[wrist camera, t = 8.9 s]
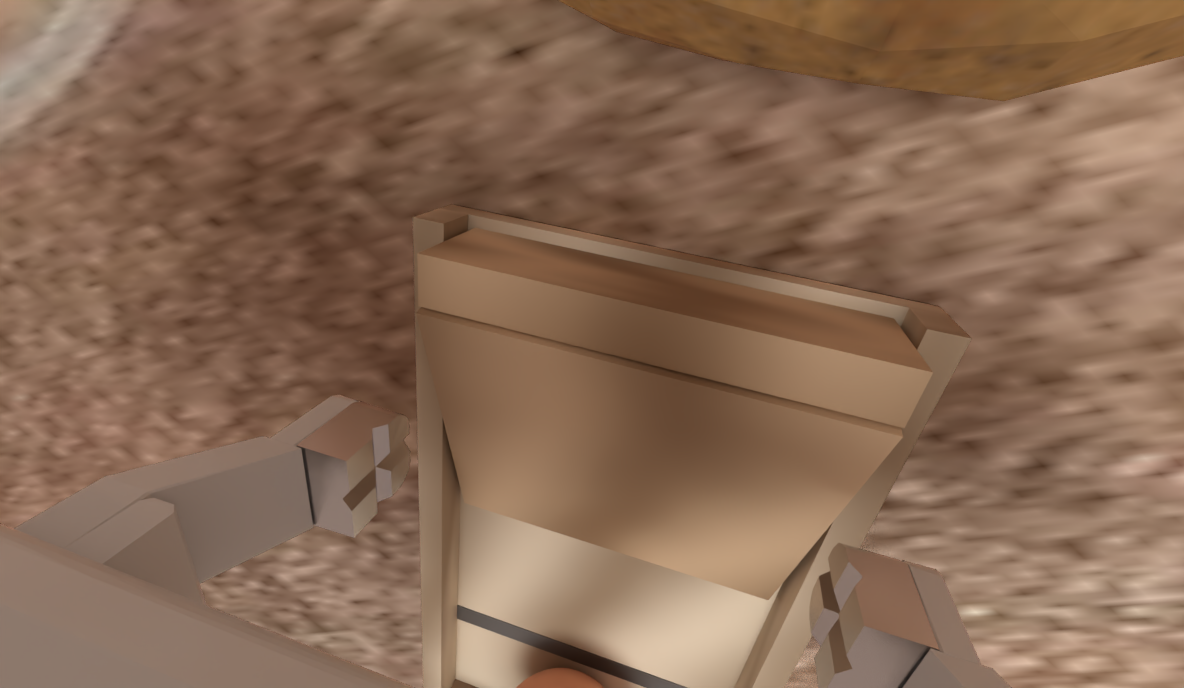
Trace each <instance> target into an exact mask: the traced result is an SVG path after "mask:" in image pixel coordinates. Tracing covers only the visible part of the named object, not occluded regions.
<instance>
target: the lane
mask: <svg viewBox="0 0 1184 688" xmlns="http://www.w3.org/2000/svg"><path fill="white" fill-rule="evenodd" d="M413 261H414V306H415V350H416V395H417V440H418V485H419V529H420V574H421V619H422V664H423V688H516V687H517V686H518V685H519V684H521V683H522V682H523V681H524V680H525V679H527V678H529V677H530V676H532V675H534V674H535V673H538V672H541V671H543V670H546V669H551V668H570V669H574V670H578V671H580V672H583V673H585V674H587V675H589V676H591V677H592V678H594V679H595V680H596V681H598V682H599V683H600V684H601V685H602V686H603V687H604V688H784V687H785V685H786V683H787V681H788V680H789V678H790V676H791V674H792V672H793V670H794V668H795V667H796V665H797V663H798V661H799V659H800V657H801V655H802V654H803V652H804V650H805V648H806V646H807V644H808V642H809V641H810V639H811V637H812V634H811V629H810V621H809V605H810V600H811V595H812V590H813V588H814V586H815V583H816V581H817V579H818V577H819V576H820V575H822V574H824V573H827V572H829V571H830V567H829V562H828V557H829V555H830V553H831V551H832V549H833V548H834V547H835V546H836V545H837V544H838V543H842V544H846V545H849V546H853V547H856V548H860V546H861V544H862V542H863V540H864V538H865V537H866V535H867V533H868V531H869V529H870V527H871V525H872V524H873V522H874V520H875V518H876V516H877V514H878V512H879V511H880V509H881V507H882V505H883V503H884V501H885V499H886V498H887V496H888V494H889V492H890V490H891V488H892V486H893V485H894V483H895V481H896V479H897V477H898V475H899V473H900V472H901V470H902V468H903V466H904V464H905V462H906V460H907V459H908V457H909V455H910V453H911V451H912V449H913V447H914V446H915V444H916V442H917V440H918V438H919V436H920V434H921V433H922V431H923V429H924V427H925V425H926V423H927V421H928V419H929V418H930V416H931V414H932V412H933V410H934V408H935V406H936V405H937V403H938V401H939V399H940V397H941V395H942V393H943V392H944V390H945V388H946V386H947V384H948V382H949V380H950V379H951V377H952V375H953V373H954V371H955V369H956V367H957V366H958V364H959V362H960V360H961V358H962V356H963V354H964V353H965V351H966V349H967V347H968V345H969V343H970V341H971V340H972V338H971V337H970V336H969V335H968V334H967V333H966V332H965V331H964V330H963V329H962V328H961V327H960V326H959V325H958V324H957V323H956V322H955V321H954V320H953V319H952V318H951V317H950V316H949V315H948V314H947V313H946V312H945V311H944V310H943V309H942V308H941V307H939V306H934V305H930V304H925V303H920V302H915V301H910V300H906V299H901V298H896V297H891V296H887V295H882V294H877V293H872V292H868V291H863V290H858V289H853V288H848V287H844V286H839V285H834V284H829V283H825V282H820V281H815V280H810V279H806V278H801V277H796V276H791V275H786V274H782V273H777V272H772V271H767V270H763V269H758V268H753V267H748V266H744V265H739V264H734V263H729V262H724V261H720V260H715V259H710V258H705V257H701V256H696V255H691V254H686V253H681V252H677V251H672V250H667V249H662V248H658V247H653V246H648V245H643V244H639V243H634V242H629V241H624V240H619V239H615V238H610V237H605V236H600V235H596V234H591V233H586V232H581V231H577V230H572V229H567V228H562V227H557V226H553V225H548V224H543V223H538V222H534V221H529V220H524V219H519V218H515V217H510V216H505V215H500V214H495V213H491V212H486V211H481V210H476V209H472V208H467V207H462V206H457V205H453V204H451V205H448V206H445V207H442V208H439V209H435V210H432V211H429V212H426V213H423V214H420V215H417V216H414V217H413Z"/></svg>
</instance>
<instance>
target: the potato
mask: <svg viewBox="0 0 1184 688" xmlns="http://www.w3.org/2000/svg"><path fill="white" fill-rule="evenodd" d="M558 1H560V2H562V3H564V4H566V5H568V6H570V7H572V8H574V9H576V10H578V11H579V12H581V13H583V14H585V15H587V16H589V17H591V18H593V19H595V20H596V21H598V22H600V23H602V24H604V25H605V26H607V27H609V28H611V29H612V30H614V31H616V32H619V33H623V34H627V35H631V36H634V37H638V38H642V39H646V40H649V41H653V42H657V43H660V44H664V45H668V46H672V47H675V48H679V49H683V50H687V51H690V52H694V53H698V54H701V55H705V56H709V57H713V58H717V59H721V60H726V61H731V62H735V63H740V64H745V65H751V66H757V67H763V68H769V69H775V70H781V71H787V72H793V73H799V74H805V75H811V76H817V77H823V78H828V79H834V80H840V81H846V82H852V83H859V84H867V85H875V86H883V87H891V88H900V89H908V90H916V91H924V92H932V93H941V94H949V95H957V96H965V97H974V98H982V99H990V100H998V101H1006V100H1010V99H1014V98H1018V97H1022V96H1025V95H1029V94H1033V93H1037V92H1041V91H1045V90H1049V89H1053V88H1057V87H1061V86H1065V85H1069V84H1073V83H1077V82H1081V81H1085V80H1089V79H1093V78H1097V77H1101V76H1105V75H1109V74H1113V73H1117V72H1121V71H1125V70H1129V69H1133V68H1136V67H1140V66H1144V65H1148V64H1152V63H1156V62H1160V61H1164V60H1168V59H1172V58H1176V57H1180V56H1184V0H558Z"/></svg>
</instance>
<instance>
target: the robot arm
mask: <svg viewBox="0 0 1184 688" xmlns="http://www.w3.org/2000/svg"><path fill="white" fill-rule="evenodd" d="M409 433H410V431H409V419H408V418H407V417H405V416H404V415H402V414H399V413H396V412H393V411H390V410H387V409H384V408H381V407H377V406H374V405H371V404H368V403H365V402H362V401H357V400H354V399H351V398H348V397H345V396H342V395H334V396H330V397H329V398H327V399H326V400H324V401H323V402H322V403H320V404H319V405H317V406H316V407H314V408H313V409H311V410H310V411H308V412H307V413H306V414H304V415H303V416H301V417H300V418H298V419H297V420H295V421H294V422H293V423H291V424H290V425H288V426H287V427H285V428H284V429H282V430H281V431H279V432H278V433H277V434H275V435H274V436H272V437H271V438H268V437H264V436H261V437H257V438H253V439H249V440H245V441H241V442H238V443H234V444H230V445H226V446H222V447H218V448H214V449H210V450H206V451H202V452H199V453H195V454H191V455H187V456H183V457H179V458H175V459H171V460H167V461H163V462H160V463H156V464H152V465H148V466H144V467H140V468H136V469H132V470H128V471H124V472H121V473H117V474H113V475H109V476H105V477H103V478H101V479H99V480H97V481H96V482H94V483H92V484H91V485H89V486H87V487H85V488H84V489H82V490H80V491H78V492H77V493H75V494H73V495H71V496H70V497H68V498H66V499H64V500H63V501H61V502H59V503H57V504H56V505H54V506H52V507H50V508H49V509H47V510H45V511H44V512H42V513H40V514H38V515H37V516H35V517H33V518H31V519H30V520H28V521H26V522H24V523H23V524H21V525H19V526H17V527H16V528H14V529H13V528H10V527H8V526H5V525H3V524H0V688H414V687H412V686H409V685H407V684H404V683H402V682H399V681H397V680H394V679H391V678H389V677H386V676H384V675H381V674H379V673H376V672H374V671H371V670H369V669H366V668H364V667H361V666H359V665H356V664H354V663H351V662H348V661H346V660H343V659H341V658H338V657H336V656H333V655H331V654H328V653H326V652H323V651H321V650H318V649H316V648H313V647H311V646H308V645H306V644H303V643H301V642H298V641H295V640H293V639H290V638H288V637H285V636H283V635H280V634H278V633H275V632H273V631H270V630H268V629H265V628H263V627H260V626H258V625H255V624H253V623H250V622H247V621H245V620H242V619H240V618H237V617H235V616H232V615H230V614H227V613H225V612H222V611H220V610H217V609H215V608H212V607H210V606H207V605H206V602H205V598H204V595H203V592H202V589H201V586H200V584H201V583H203V582H205V581H207V580H209V579H211V578H213V577H215V576H217V575H219V574H221V573H223V572H225V571H227V570H229V569H231V568H233V567H235V566H237V565H239V564H241V563H243V562H245V561H247V560H249V559H251V558H253V557H255V556H257V555H259V554H261V553H263V552H265V551H267V550H269V549H271V548H273V547H275V546H277V545H279V544H281V543H283V542H285V541H287V540H289V539H292V538H294V537H296V536H298V535H300V534H302V533H304V532H306V531H308V530H310V529H312V528H313V525H315V526H318V527H321V528H324V529H328V530H331V531H334V532H337V533H340V534H344V535H347V536H350V537H353V538H355V537H356V536H357V534H358V533H359V532H360V531H361V530H362V529H363V528H364V527H365V526H366V525H367V523H368V522H369V521H370V520H371V519H372V518H373V517H374V516H375V515H376V514H377V513H378V502H379V501H382V500H384V499H387V498H389V497H392V496H393V495H394V494H395V492H396V491H397V490H398V489H399V488H400V487H401V485H402V483H403V481H404V479H405V477H406V475H407V473H408V470H409V465H410V450H409V448H408V447H407V445H406V444H405V442H404V440H403V439H404V438H405V437H406V436H407V435H408V434H409ZM828 562H829V567H830V571H829V572H827V573H824V574H822V575H820V576H819V577H818V579H817V581H816V583H815V586H814V588H813V590H812V595H811V600H810V605H809V621H810V629H811V634H812V635H813V636H814V638H815V639H816V640H817V642H818V643H819V645H820V646H821V647H820V649H819V651H818V652H817V654H816V656H815V658H814V660H815V667H816V674H817V681H818V688H1011V687H1010V686H1009V685H1008V684H1007V683H1006V682H1005V680H1004V679H1003V678H1002V677H1001V676H1000V675H999V674H998V673H997V672H996V671H995V670H994V669H993V668H990V667H987V666H983V665H981V663H980V660H979V658H978V656H977V653H976V651H975V649H974V647H973V644H972V642H971V640H970V638H969V635H968V633H967V631H966V629H965V626H964V624H963V622H962V619H961V617H960V615H959V613H958V610H957V608H956V606H955V604H954V601H953V599H952V597H951V594H950V592H949V590H948V588H947V585H946V583H945V581H944V579H943V577H942V575H941V574H940V573H939V572H938V571H937V570H936V569H933V568H929V567H926V566H922V565H918V564H915V563H911V562H907V561H904V560H902V561H900V560H898V559H895V558H891V557H888V556H884V555H881V554H877V553H874V552H870V551H867V550H863V549H860V548H856V547H853V546H849V545H846V544H842V543H838V544H837V545H836V546H835V547H834V548H833V549H832V551H831V553H830V555H829V557H828Z"/></svg>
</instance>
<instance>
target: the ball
mask: <svg viewBox="0 0 1184 688" xmlns="http://www.w3.org/2000/svg"><path fill="white" fill-rule="evenodd" d="M516 688H604V687H603V686H602V685H601V684H600V683H599V682H598V681H596V680H595V679H594V678H592V677H591V676H589V675H587V674H585V673H583V672H580V671H578V670H574V669H570V668H551V669H546V670H543V671H541V672H538V673H535V674H534V675H532V676H530V677H529V678H527V679H525V680H524V681H523V682H522V683H521V684H519V685H518V686H517V687H516Z"/></svg>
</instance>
